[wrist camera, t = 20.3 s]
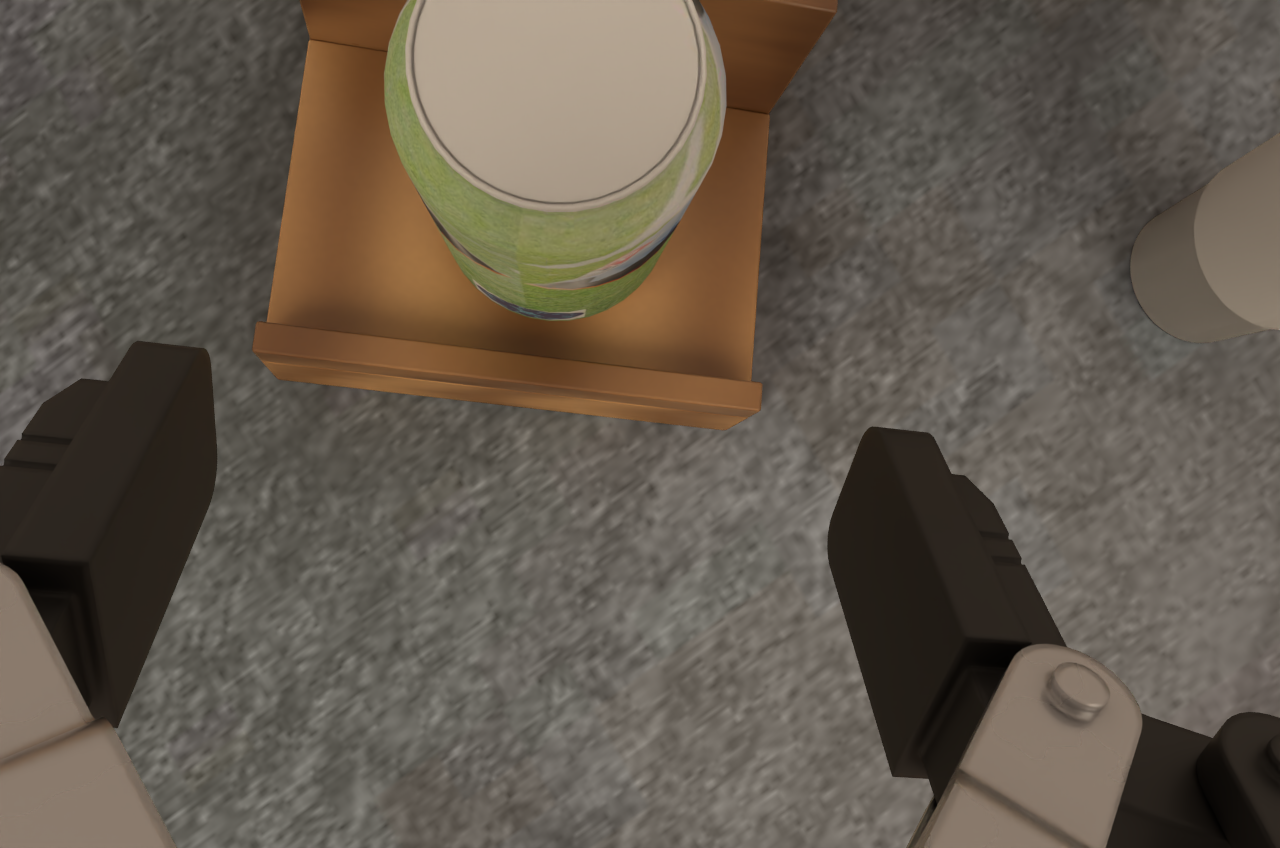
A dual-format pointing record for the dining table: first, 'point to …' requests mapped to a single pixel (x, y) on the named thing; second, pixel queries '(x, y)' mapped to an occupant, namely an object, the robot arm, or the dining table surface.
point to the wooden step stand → (462, 315)
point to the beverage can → (555, 138)
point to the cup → (1216, 254)
